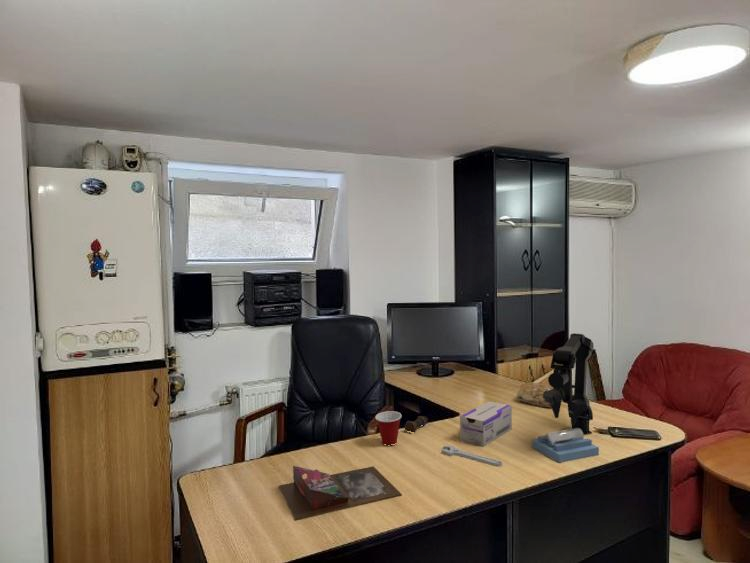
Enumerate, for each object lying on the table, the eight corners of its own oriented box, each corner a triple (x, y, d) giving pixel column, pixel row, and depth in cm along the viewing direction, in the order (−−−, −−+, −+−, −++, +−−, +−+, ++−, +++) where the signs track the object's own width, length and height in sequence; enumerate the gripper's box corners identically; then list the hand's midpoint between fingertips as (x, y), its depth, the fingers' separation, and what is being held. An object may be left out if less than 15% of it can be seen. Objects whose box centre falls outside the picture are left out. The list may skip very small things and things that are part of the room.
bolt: (427, 427, 228) (411, 436, 216) (418, 420, 231) (402, 429, 218) (432, 417, 227) (417, 426, 214) (424, 410, 229) (408, 419, 216)
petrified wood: (564, 404, 250) (562, 386, 248) (550, 415, 242) (547, 396, 240) (531, 395, 265) (528, 377, 263) (516, 405, 257) (514, 387, 255)
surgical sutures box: (489, 424, 225) (489, 401, 224) (511, 429, 218) (511, 405, 217) (460, 441, 206) (459, 415, 205) (483, 447, 199) (483, 421, 198)
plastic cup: (370, 444, 204) (369, 415, 204) (387, 437, 212) (387, 409, 212) (390, 451, 197) (389, 421, 196) (407, 443, 205) (407, 414, 204)
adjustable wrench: (503, 466, 182) (503, 461, 182) (494, 472, 177) (494, 467, 177) (447, 448, 199) (447, 443, 199) (437, 453, 195) (437, 448, 195)
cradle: (569, 440, 203) (569, 428, 203) (598, 455, 188) (598, 442, 188) (532, 447, 198) (531, 434, 197) (559, 462, 182) (559, 449, 182)
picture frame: (278, 488, 170) (277, 464, 169) (373, 469, 183) (373, 447, 182) (295, 523, 147) (294, 496, 147) (402, 498, 160) (401, 473, 160)
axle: (574, 438, 197) (574, 426, 197) (583, 443, 193) (583, 430, 192) (544, 443, 193) (545, 431, 192) (553, 448, 188) (553, 435, 188)
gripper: (531, 378, 199) (532, 417, 200) (563, 390, 182) (564, 432, 183) (554, 375, 203) (555, 413, 204) (588, 387, 186) (588, 428, 187)
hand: (564, 421), depth 194 cm, fingers open, 9 cm apart
